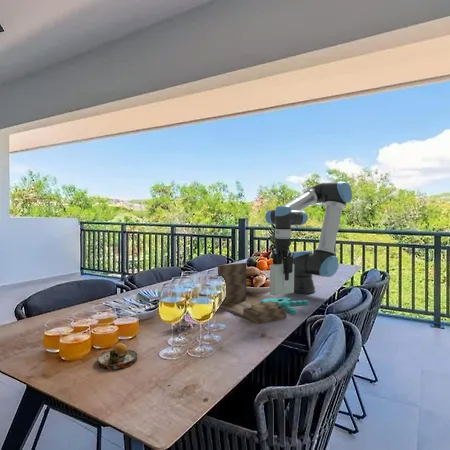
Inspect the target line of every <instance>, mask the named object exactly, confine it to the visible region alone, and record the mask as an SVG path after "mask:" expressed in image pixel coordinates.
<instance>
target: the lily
mask: <svg viewBox="0 0 450 450" xmlns="http://www.w3.org/2000/svg"><path fill="white" fill-rule="evenodd" d="M190 316H191V315H190ZM190 316H189V315H188V314H186V316H185V317H184V319H183V320H184V321H185V322H188V323H189V325H190V326H191V328H192V329H194V326H193V324H196V325H197V321H196V320H195V321H196V322H195V321H193V320H192V319H191V318H190ZM179 324H180V323H179ZM179 324H178V323H177V325H176V327H178V326H179Z"/></svg>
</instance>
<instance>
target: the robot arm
mask: <svg viewBox="0 0 450 450" xmlns="http://www.w3.org/2000/svg"><path fill="white" fill-rule="evenodd" d="M352 198H353V190H352V187H351V185H350V184H349V183H348V182H346V181H334V182H321V183H318V184H316V185H314V186H312V187H311V186H310V188H308V189H306V190H304V191H303V194H301V195H299V196H297V197H295V198H293V199H292V200H289V202H287V203H285V204H283V205H278V206H276V207H275V209H269V210H266V213H265V216H264V218H265V221H266V223H267V224H269V225H275V226H274V227H275V228H274V237H275V239H274V246H275V248H274V249H272V250H271V254H272V265H275V264H283V267H284V273H283V287H288V280H289V273H292V268H293V264H294V294H313V293H315V292H316V288H315V287H316V286H315V285H314V280H313V275H314V276H318V277H321V278H322V277H324V278H325V277H326V278H331V277H333V276H334V275H335V274H336V273H337V271H338V269H339V267H340V266H339V265H340V262H339V259H338V257H337V253H336V252H335V246H336V242H337V235H338V232H339V227H340V222H341V217H342V212H343V211H342V210H344V209H345V208H346V205H347V204H349V203H351V201H352ZM323 203H324V206H325V212H324V216H323V221H322V227H321V231H320V235H319V240H318V246H317V247H316V248H315V249H314V251H313V250H300V251H299V250H298V251H291V250H290V247H291V236H292V233H291V232H292V226H302V225H305V224H306V223H307V221H308V214H307V213H306V211H304V209H306V208H308V207H309V206H314V205H316V204H323Z"/></svg>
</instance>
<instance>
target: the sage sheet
mask: <svg viewBox="0 0 450 450" xmlns="http://www.w3.org/2000/svg"><path fill="white" fill-rule="evenodd" d="M283 273H284V267H283V263H282V264H275V265H273V264H270V265H269V295H272V296H274V297H275V296H279V295H280V296H282V295H287V294H293V293H294V264H293V268H292V273H289V280H288V287H283ZM294 294H295V293H294Z"/></svg>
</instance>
